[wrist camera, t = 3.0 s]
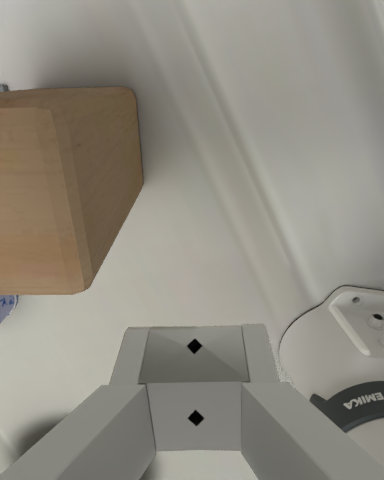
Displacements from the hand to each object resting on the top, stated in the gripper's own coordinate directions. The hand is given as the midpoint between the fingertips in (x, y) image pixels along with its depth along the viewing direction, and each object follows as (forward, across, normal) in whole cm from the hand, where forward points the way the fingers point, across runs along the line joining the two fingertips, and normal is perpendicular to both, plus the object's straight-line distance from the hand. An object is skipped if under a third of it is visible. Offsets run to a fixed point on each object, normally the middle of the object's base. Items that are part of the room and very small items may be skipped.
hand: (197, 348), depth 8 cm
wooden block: (+29, +11, 0) cm, 31 cm away
